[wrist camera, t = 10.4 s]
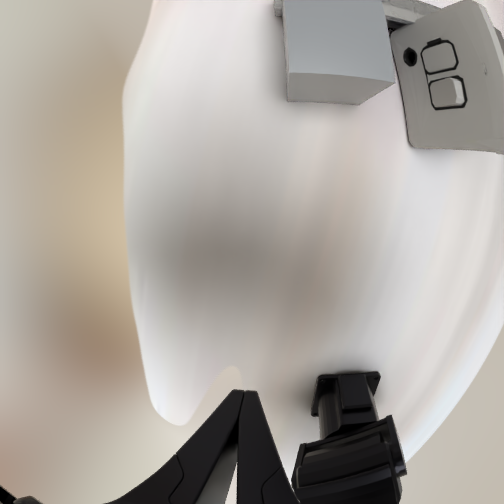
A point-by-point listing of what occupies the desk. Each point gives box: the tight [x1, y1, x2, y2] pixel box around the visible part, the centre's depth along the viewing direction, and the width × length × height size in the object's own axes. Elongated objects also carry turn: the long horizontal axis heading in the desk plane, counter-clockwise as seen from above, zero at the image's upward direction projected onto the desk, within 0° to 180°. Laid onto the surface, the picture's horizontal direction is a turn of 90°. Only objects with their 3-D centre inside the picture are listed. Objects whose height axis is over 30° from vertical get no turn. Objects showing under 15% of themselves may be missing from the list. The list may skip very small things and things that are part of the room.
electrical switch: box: [390, 0, 504, 155], centre depth 11 cm, size 9×5×9 cm, turn 8°
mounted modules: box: [282, 0, 396, 105], centre depth 11 cm, size 7×23×7 cm, turn 92°
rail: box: [274, 0, 504, 40], centre depth 11 cm, size 2×24×4 cm, turn 92°
